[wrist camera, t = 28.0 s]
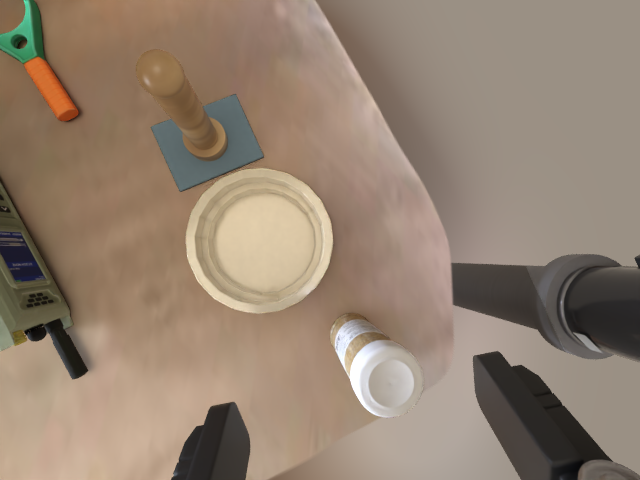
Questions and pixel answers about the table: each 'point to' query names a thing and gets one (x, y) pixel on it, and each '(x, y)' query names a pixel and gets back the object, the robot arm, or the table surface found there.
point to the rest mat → (197, 171)
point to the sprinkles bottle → (377, 367)
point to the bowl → (259, 240)
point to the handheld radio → (30, 293)
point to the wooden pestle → (181, 104)
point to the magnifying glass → (38, 62)
